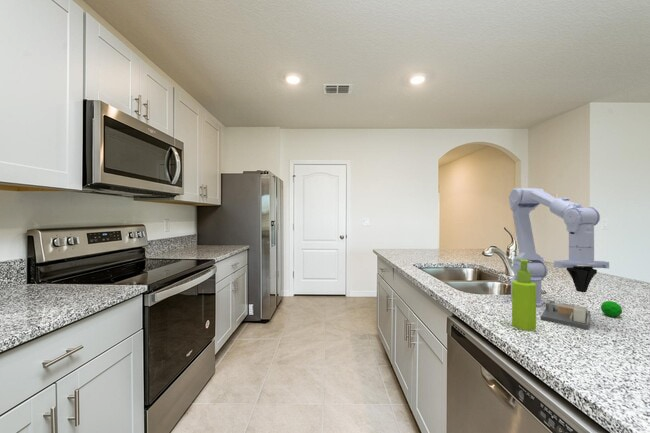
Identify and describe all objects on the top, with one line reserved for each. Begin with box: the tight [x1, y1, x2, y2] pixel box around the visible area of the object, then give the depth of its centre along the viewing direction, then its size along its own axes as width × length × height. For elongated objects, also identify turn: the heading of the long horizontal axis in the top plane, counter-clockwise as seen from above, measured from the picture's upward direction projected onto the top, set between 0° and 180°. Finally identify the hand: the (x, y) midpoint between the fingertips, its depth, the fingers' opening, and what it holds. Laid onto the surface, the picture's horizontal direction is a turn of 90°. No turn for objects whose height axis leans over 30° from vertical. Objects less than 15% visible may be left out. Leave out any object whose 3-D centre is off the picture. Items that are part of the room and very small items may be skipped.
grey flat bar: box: [551, 302, 589, 314], centre depth 92 cm, size 9×3×1 cm, turn 45°
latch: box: [574, 304, 587, 323], centre depth 86 cm, size 3×5×4 cm, turn 135°
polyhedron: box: [600, 300, 623, 318], centre depth 93 cm, size 5×5×5 cm
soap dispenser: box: [511, 259, 537, 332], centre depth 84 cm, size 6×7×20 cm
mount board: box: [540, 299, 591, 330], centre depth 92 cm, size 11×18×4 cm, turn 135°
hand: (581, 291), depth 85 cm, fingers closed
